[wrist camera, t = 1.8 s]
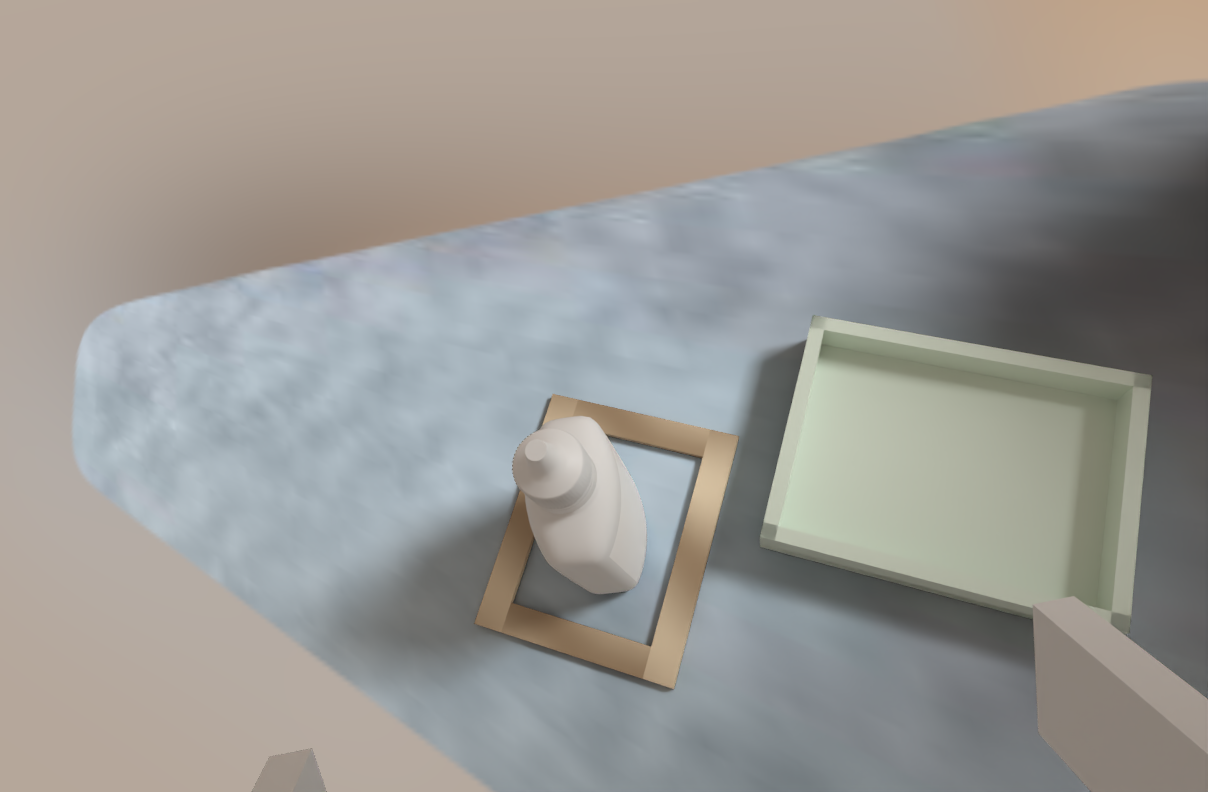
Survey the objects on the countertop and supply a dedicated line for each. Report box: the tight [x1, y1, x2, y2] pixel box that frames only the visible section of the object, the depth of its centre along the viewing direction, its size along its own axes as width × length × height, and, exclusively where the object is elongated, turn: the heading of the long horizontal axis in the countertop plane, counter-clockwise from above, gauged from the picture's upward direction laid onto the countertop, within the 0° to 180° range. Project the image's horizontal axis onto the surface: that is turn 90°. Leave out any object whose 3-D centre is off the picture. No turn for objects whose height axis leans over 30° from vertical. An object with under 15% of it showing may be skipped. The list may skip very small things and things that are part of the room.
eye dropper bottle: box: [512, 416, 647, 594], centre depth 29 cm, size 4×6×12 cm
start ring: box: [474, 394, 739, 689], centre depth 34 cm, size 11×9×1 cm
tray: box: [760, 315, 1152, 634], centre depth 31 cm, size 10×13×2 cm
